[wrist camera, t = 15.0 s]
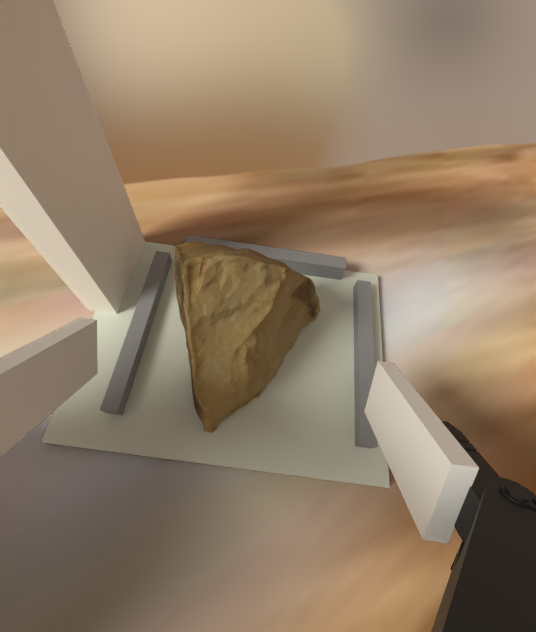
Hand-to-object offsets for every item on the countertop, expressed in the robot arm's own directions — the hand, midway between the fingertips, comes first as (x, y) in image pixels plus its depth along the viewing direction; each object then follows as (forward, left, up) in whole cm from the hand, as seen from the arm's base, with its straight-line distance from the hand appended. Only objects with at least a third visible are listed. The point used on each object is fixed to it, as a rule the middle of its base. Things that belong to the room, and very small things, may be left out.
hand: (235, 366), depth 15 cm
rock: (-1, -3, -6) cm, 7 cm away
